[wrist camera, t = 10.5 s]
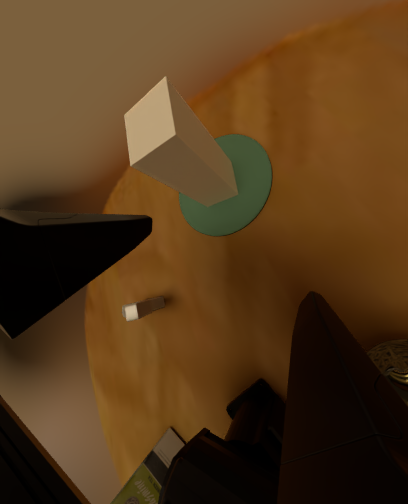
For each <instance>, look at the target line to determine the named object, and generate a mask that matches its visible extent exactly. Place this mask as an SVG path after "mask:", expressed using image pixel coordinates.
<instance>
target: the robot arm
mask: <svg viewBox="0 0 408 504" xmlns="http://www.w3.org/2000/svg"><path fill="white" fill-rule="evenodd" d="M151 232H152V218H151V217H149V216H147V215H119V214H75V213H49V212H47V213H46V212H31V211H30V212H29V211H14V210H6V209H0V328H1V329H2V330H3V331H4V332H5V333H6V334H7V335H8V336H9V337H10V338H11V339H14V338H16V337H17V336H18V335H20V334H21V333H23V332H24V331H25V330H27V329H28V328H29V327H31V326H32V325H33V324H35V323H36V322H37V321H39V320H40V319H41V318H43V317H44V316H45V315H47V314H48V313H49V312H51V311H52V310H53V309H55V308H56V307H57V306H59V305H60V304H61V303H63V302H64V301H65V300H67V299H68V298H69V297H71V296H72V295H73V294H74V293H76V292H77V291H79V290H80V289H81V288H83V287H84V286H85V285H87V284H88V283H89V282H91V281H92V280H93V279H95V278H96V277H97V276H99V275H100V274H101V273H103V272H104V271H105V270H107V269H108V268H109V267H111V266H112V265H113V264H115V263H116V262H117V261H119V260H120V259H121V258H123V257H124V256H126V255H127V254H128V253H130V252H131V251H132V250H133V249H135V248H136V247H137V246H138V245H139V244H140V243H141V242H142V241H143V240H144V239H146V238H147V237H148V236H149V235H150V234H151ZM260 383H261V384H262V385H263V386H261V385H260ZM230 409H231V410H230ZM226 410H227V412H228V414H229V415H230V417H231V418H232V420H233V421H232V423H231V425H230V428H229V430H228V432H227V434H226V437H225V439H224V440H223V439H221V438H220V437H218V436H216V435H214V434H213V433H211V432H210V430H208V429H207V428H203V429H202V430H201V431H200V432H199V433H198V434H197V435H196V436H194V437H193V438H192V439H191V440H190V441H189V442H188V443H187V444H186V445H184V446H183V447H182V448H181V449H180V450H179V451H178V453H177V454H176V455H175V456H174V457H173V459H172V461H171V464H170V466H169V468H168V471H167V473H166V475H165V478H164V481H163V484H162V487H161V491H160V494H159V500H158V504H408V406H407V404H406V403H405V402H404V401H403V399H402V398H401V397H400V396H399V394H398V393H397V392H396V391H395V389H394V388H393V387H392V385H391V384H390V383H389V382H388V380H387V379H386V378H385V376H384V375H383V374H381V371H380V370H379V369H378V367H377V366H376V365H375V364H374V362H373V361H372V360H371V358H370V357H369V356H368V355H367V353H366V352H365V351H364V349H363V348H362V347H361V346H360V344H359V343H358V342H357V340H356V339H355V338H354V337H353V335H352V334H351V333H350V331H349V330H348V329H347V328H346V326H345V325H344V324H343V322H342V321H341V320H340V319H339V317H338V316H337V315H336V313H335V312H334V311H333V310H332V308H331V307H330V306H329V304H328V303H327V302H326V301H325V299H324V298H323V297H322V295H320V294H318V293H316V292H314V291H310V292H309V293H308V294H307V296H306V297H305V298H304V299H303V301H302V302H301V304H300V306H299V309H298V313H297V318H296V322H295V326H294V330H293V335H292V345H291V356H290V367H289V378H288V389H287V400H286V404H285V403H284V402H283V401H282V400H281V398H280V397H278V396H277V395H276V394H275V393H274V391H273V390H272V389H271V388H270V387H269V385H268V384H267V383H266V382H265V381H264V380H263V379H259V380H257V381H256V382H255V383H254V384H253V385H251V386H250V387H249V388H248V389H246V390H245V391H244V392H243V393H242V394H240V395H239V396H238V397H237V398H236V399H234V400H233V401H232V402H231V403H230V404H228V406H227V409H226ZM0 504H91V503H90V502H89V501H88V500H87V498H85V496H84V495H83V494H82V492H81V491H80V490H79V489H78V488H77V486H76V485H75V484H74V483H73V482H72V480H71V479H70V478H69V477H68V476H67V474H66V473H65V472H64V471H63V470H62V468H61V467H60V466H59V465H58V464H57V462H56V461H55V460H54V459H53V458H52V457H51V455H50V454H49V453H48V452H47V450H46V449H45V448H44V447H43V446H42V445H41V443H40V442H39V441H38V440H37V438H36V437H35V436H34V435H33V434H32V433H31V431H30V430H29V429H28V428H27V427H26V425H25V424H24V423H23V422H22V421H21V419H20V418H19V417H18V416H17V415H16V413H15V412H14V411H13V410H12V409H11V407H10V406H9V405H8V404H7V403H6V401H5V400H4V399H3V398H2V397H1V395H0Z"/></svg>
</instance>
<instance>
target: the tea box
mask: <svg viewBox="0 0 408 504" xmlns="http://www.w3.org/2000/svg"><path fill="white" fill-rule="evenodd" d="M184 445H185V444H184V443H183V442H182V441H181V440H180V439H179V437H178V436H177V435H176V434H175V433H174V432H173V431H172V429H171V428H169V429H168V430H167V431H166V432H165V434H164V435H163V436H162V438H161V439H160V440H159V441H158V443H157V444H156V445H155V447H154V448H153V449H152V451H151V452H150V453H149V454H148V455H147V457H146V458H145V459H144V461H143V462H142V463H141V465H140V466H139V467H138V468H137V470H136V471H135V472H134V474H133V475H132V476H131V477H130V479H129V480H128V481H127V483H126V484H125V485H124V487H123V488H122V489H121V491H120V492H119V493H118V494H117V496H116V497H115V498H114V500H113V501H112V502H111V504H158V500H159V494H160V491H161V487H162V484H163V481H164V478H165V475H166V473H167V471H168V468H169V466H170V464H171V461H172V459H173V457H174V456H175V455H176V454H177V453H178V451H179V450H180V449H181V448H182V447H183V446H184Z"/></svg>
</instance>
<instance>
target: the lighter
mask: <svg viewBox="0 0 408 504" xmlns="http://www.w3.org/2000/svg"><path fill="white" fill-rule="evenodd" d="M163 307H165V303H164V298H163V296H160V297H156V298H151V299H147V300H143V301H139V302H135V303H131V304H127V305H124V306H123V308H122V313H123V316H124V317H125V318H127V321H133V320H137V319H140V318H142V317H144V316H146V315H148V314H150V313H152V311H155V310H157V309H160V308H163Z"/></svg>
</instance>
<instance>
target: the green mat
mask: <svg viewBox="0 0 408 504" xmlns="http://www.w3.org/2000/svg"><path fill="white" fill-rule="evenodd" d="M214 140H215V141H216V142H217V144H218V145H219V146H220V148H221V149H222V150H223V152H224V153H225V154H226V156H227V157H228V158H229V159H230V161H231V162H232V167H233V171H234V176H235V181H236V185H237V190H238V195H236V196H234V197H231V198H229V199H226V200H224V201H221V202H219V203H216V204H214V205H211V206H209V207H207V206H205V205H203V204H201V203H199V202H197V201H196V200H194V199H192V198H190V197H188V196H186V195H184V194H182V193H180V192H179V201H180V207H181V210H182V213H183V215H184V217H185V219H186V221H187V222H188V223H189V224H190V225H191V226H192V227H193V228H194V229H195V230H197V231H199V232H201V233H203V234H206V235H211V236H224V235H229V234H232V233H235V232H237V231H239V230H241V229H242V228H244V227H245V226H247V225H248V224H249V223H250V222H252V221H253V220H254V219H255V217H256V216H257V215H258V214H259V213H260V211H261V210H262V208H263V207H264V205H265V203H266V201H267V198H268V196H269V193H270V189H271V184H272V169H271V164H270V161H269V158H268V155H267V154H266V152H265V150H264V149H263V147H262V146H261V145H260V144H259V143H258V142H257V141H255V140H253V139H252V138H250V137H247V136H244V135H238V134H232V135H225V136H221V137H219V138H216V139H214Z"/></svg>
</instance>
